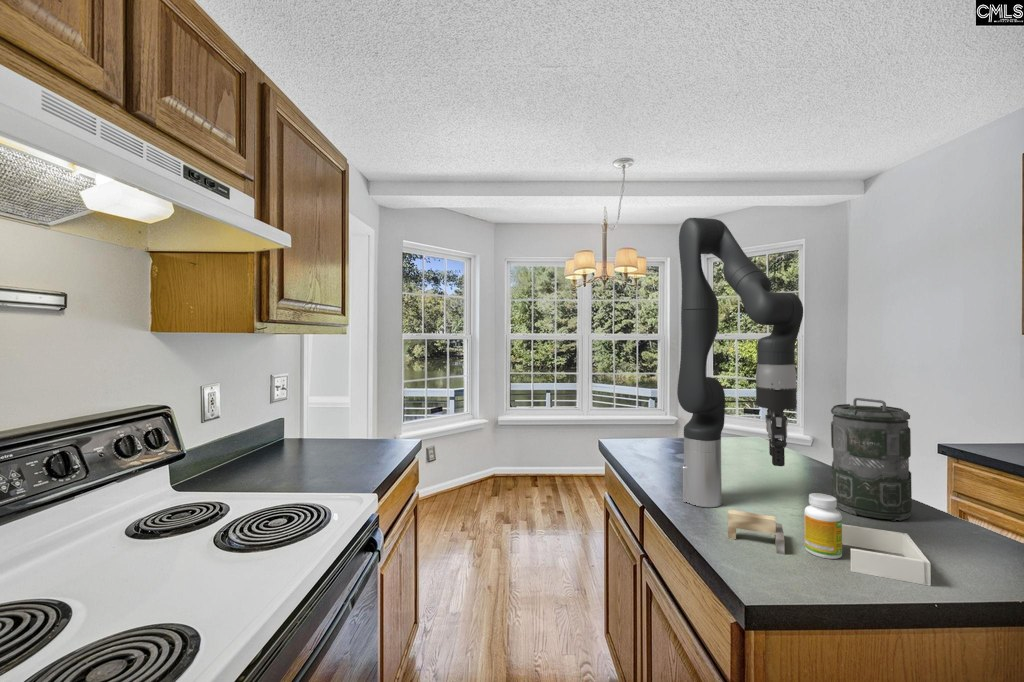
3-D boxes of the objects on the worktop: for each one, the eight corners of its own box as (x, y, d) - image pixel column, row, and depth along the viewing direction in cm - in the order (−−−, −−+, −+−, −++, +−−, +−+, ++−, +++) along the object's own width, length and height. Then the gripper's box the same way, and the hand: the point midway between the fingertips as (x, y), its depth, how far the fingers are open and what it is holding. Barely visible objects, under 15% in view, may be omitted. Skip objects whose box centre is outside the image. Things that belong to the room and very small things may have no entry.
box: (851, 571, 85) (851, 549, 85) (839, 542, 97) (838, 523, 97) (930, 585, 80) (930, 563, 80) (907, 553, 92) (906, 533, 92)
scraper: (727, 544, 97) (727, 518, 97) (729, 528, 105) (729, 504, 105) (784, 554, 92) (784, 527, 92) (781, 537, 100) (781, 512, 100)
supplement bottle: (843, 562, 88) (843, 504, 88) (805, 555, 91) (804, 498, 91) (840, 550, 93) (840, 494, 93) (804, 543, 97) (804, 489, 97)
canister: (817, 504, 119) (816, 397, 119) (856, 496, 125) (855, 394, 125) (886, 526, 105) (884, 404, 105) (926, 516, 111) (925, 400, 111)
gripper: (754, 381, 106) (755, 451, 106) (757, 387, 93) (758, 467, 93) (792, 383, 103) (793, 454, 103) (800, 389, 90) (801, 471, 90)
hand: (776, 460), depth 98 cm, fingers open, 8 cm apart
